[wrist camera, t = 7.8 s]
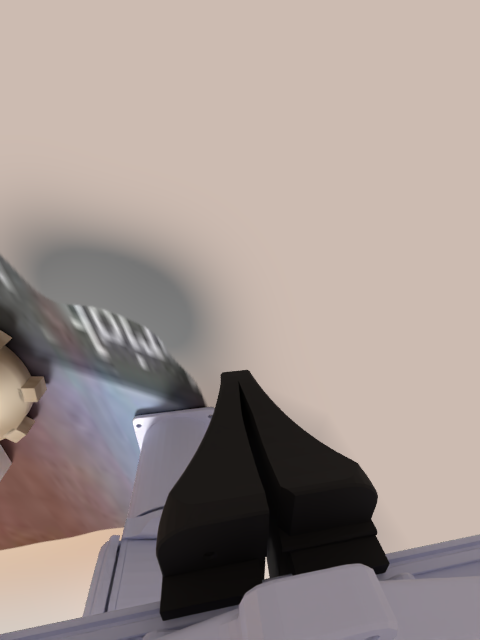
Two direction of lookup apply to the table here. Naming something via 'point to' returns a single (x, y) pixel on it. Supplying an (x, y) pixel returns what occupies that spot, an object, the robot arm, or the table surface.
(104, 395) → the table surface
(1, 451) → the index pointer
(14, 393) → the sprocket
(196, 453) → the robot arm
